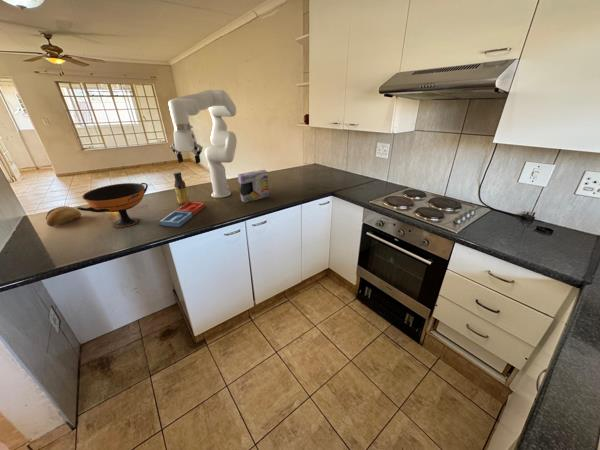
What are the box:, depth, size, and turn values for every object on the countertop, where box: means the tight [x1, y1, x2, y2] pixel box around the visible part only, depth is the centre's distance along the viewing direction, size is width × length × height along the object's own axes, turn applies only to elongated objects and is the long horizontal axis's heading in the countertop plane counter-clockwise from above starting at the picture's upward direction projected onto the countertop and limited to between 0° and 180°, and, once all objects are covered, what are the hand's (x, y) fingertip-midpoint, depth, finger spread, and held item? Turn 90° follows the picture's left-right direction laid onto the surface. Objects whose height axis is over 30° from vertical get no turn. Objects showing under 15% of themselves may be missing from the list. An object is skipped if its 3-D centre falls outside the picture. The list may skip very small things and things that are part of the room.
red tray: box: [175, 201, 206, 216], centre depth 143 cm, size 13×11×2 cm
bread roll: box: [45, 205, 82, 227], centre depth 129 cm, size 10×15×8 cm, turn 163°
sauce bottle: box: [172, 171, 190, 206], centre depth 148 cm, size 7×6×20 cm
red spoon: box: [185, 205, 197, 210], centre depth 143 cm, size 9×4×2 cm, turn 171°
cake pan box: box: [237, 169, 270, 204], centre depth 155 cm, size 19×5×18 cm, turn 123°
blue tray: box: [159, 210, 194, 228], centre depth 131 cm, size 13×11×2 cm
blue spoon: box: [170, 214, 183, 222], centre depth 131 cm, size 9×4×2 cm, turn 171°
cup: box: [76, 182, 149, 228], centre depth 125 cm, size 36×26×18 cm
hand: (189, 162), depth 128 cm, fingers open, 9 cm apart
